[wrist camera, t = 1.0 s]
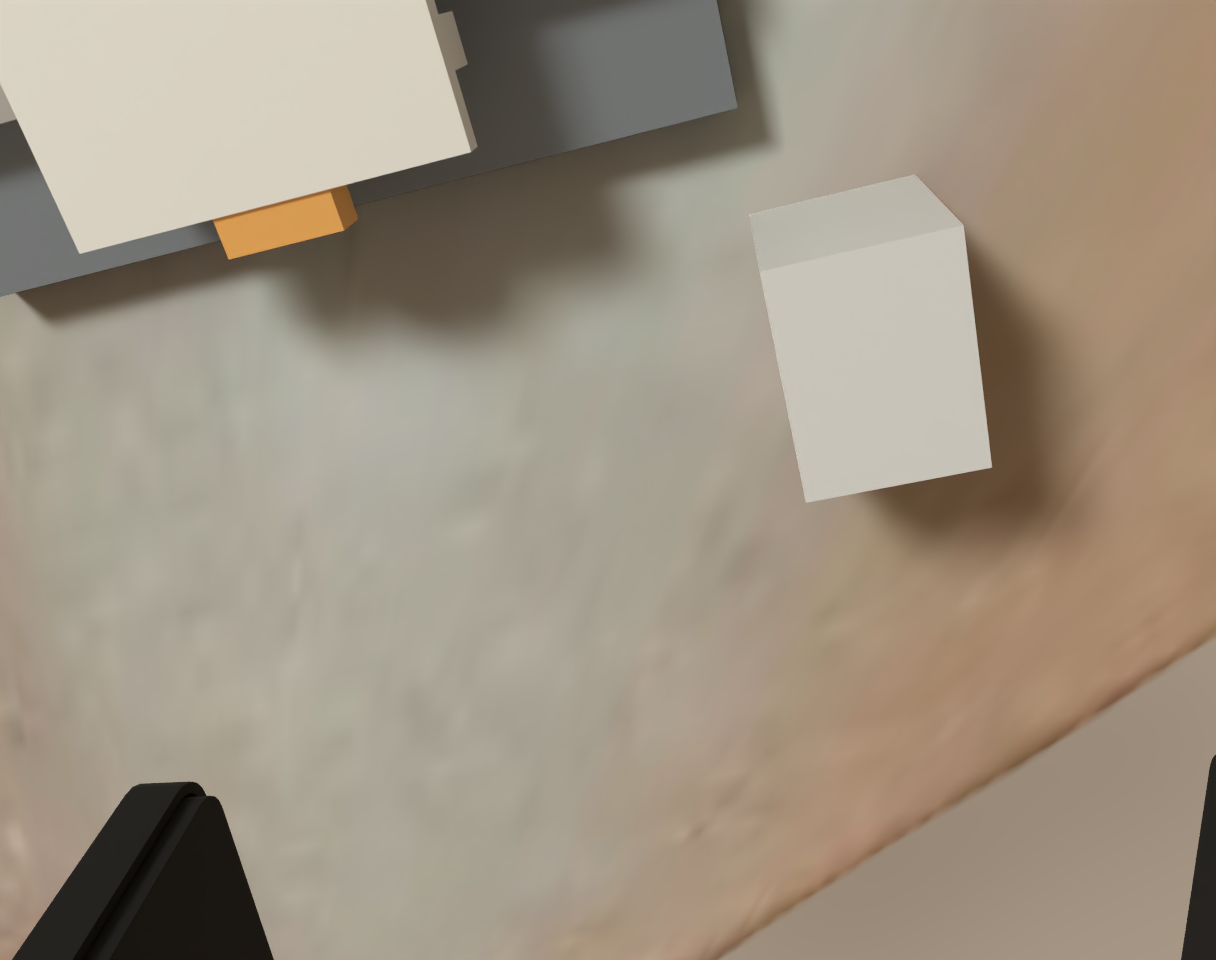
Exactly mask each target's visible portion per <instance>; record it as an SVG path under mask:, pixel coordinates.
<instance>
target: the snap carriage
mask: <svg viewBox="0 0 1216 960" xmlns="http://www.w3.org/2000/svg"><path fill="white" fill-rule="evenodd" d="M467 64H468V63H467V60H466V56H465V53H464V49H463V46H462V43H461V39H460V36H459V32H458V29H457V25H456V22H455V19H454V15H453V12H452V11H450V12H446V13H442V14H438V11H437V8H436V4H435V1H434V0H0V84H1V86H2V88H3V90H4V93H5V95H6V97H7V99H8V101H9V103H10V105H11V108H12V110H13V112H14V114H15V116H16V118H17V120H18V123H19V125H20V127H21V129H22V131H23V133H24V136H25V138H26V140H27V142H28V144H29V146H30V148H31V151H32V153H33V155H34V157H35V159H36V161H37V163H38V166H39V168H40V170H41V172H42V174H43V176H44V179H45V181H46V183H47V185H48V187H49V189H50V191H51V194H52V196H53V198H54V200H55V202H56V204H57V206H58V209H59V211H60V213H61V215H62V217H63V219H64V222H65V224H66V226H67V228H68V230H69V232H70V234H71V237H72V239H73V241H74V243H75V245H76V247H77V249H78V252H79V254H81V253H85V252H89V251H93V250H97V249H101V248H104V247H108V246H112V245H116V244H120V243H124V242H127V241H131V240H135V239H139V238H143V237H147V236H151V235H154V234H158V233H162V232H166V231H170V230H174V229H177V228H181V227H185V226H189V225H193V224H197V223H201V222H204V221H208V220H213V222H214V225H215V227H216V229H217V232H218V234H219V237H220V239H221V242H222V244H223V247H224V249H225V251H226V254H227V256H228V259H233V258H237V257H241V256H245V255H249V254H253V253H257V252H261V251H265V250H269V249H273V248H277V247H281V246H285V245H289V244H293V243H297V242H301V241H305V240H309V239H313V238H317V237H321V236H325V235H329V234H333V233H337V232H341V231H344V230H346V229H347V228H348V227H349V226H351V225H352V224H353V223H354V222H356V221H357V220H358V216H357V213H356V210H355V208H354V205H353V202H352V199H351V196H350V193H349V190H348V188H347V184H351V183H354V182H358V181H362V180H366V179H370V178H374V177H378V176H381V175H385V174H389V173H393V172H397V171H401V170H405V169H408V168H412V167H416V166H420V165H424V164H428V163H431V162H435V161H439V160H443V159H447V158H451V157H455V156H458V155H462V154H466V153H470V152H472V151H473V150H474V149H475V148H476V147H478V146H477V143H476V139H475V136H474V132H473V129H472V126H471V122H470V119H469V116H468V112H467V109H466V106H465V102H464V99H463V95H462V92H461V89H460V85H459V82H458V79H457V75H456V72H455V70H457V69H459V68H461V67H463V66H465V65H467Z"/></svg>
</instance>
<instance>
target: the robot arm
mask: <svg viewBox="0 0 1216 960" xmlns="http://www.w3.org/2000/svg"><path fill="white" fill-rule="evenodd" d="M12 960H274V959H273V956H272V953H271V950H270V947H269V944H268V941H267V938H266V935H265V932H264V929H263V926H262V924H261V921H260V918H259V915H258V912H257V909H256V906H255V903H254V900H253V897H252V894H251V891H250V888H249V885H248V882H247V879H246V876H245V873H244V870H243V867H242V864H241V861H240V858H239V855H238V852H237V849H236V846H235V844H234V841H233V838H232V835H231V832H230V829H229V826H228V823H227V820H226V817H225V814H224V811H223V808H222V806H221V804H220V801H219V800H218V799H217V798H216V797H214V796H206V794H205V792H204V790H203V788H202V787H201V786H200V785H199V784H198V783H195V782H173V783H149V784H139V785H136V786H134V787H132V788H131V789H130V791H129V792H128V793H127V794H126V795H125V796H124V798H123V799H122V801H121V802H120V804H119V805H118V807H117V808H116V809H115V811H114V812H113V814H112V815H111V817H110V818H109V820H108V821H107V823H106V824H105V825H104V827H103V828H102V830H101V831H100V833H99V834H98V836H97V837H96V839H95V840H94V841H93V843H92V844H91V846H90V847H89V849H88V850H87V852H86V853H85V855H84V856H83V857H82V859H81V860H80V862H79V863H78V865H77V866H76V868H75V869H74V870H73V872H72V873H71V875H70V876H69V878H68V879H67V881H66V882H65V884H64V885H63V886H62V888H61V889H60V891H59V892H58V894H57V895H56V897H55V898H54V900H53V901H52V902H51V904H50V905H49V907H48V908H47V910H46V911H45V913H44V914H43V916H42V917H41V918H40V920H39V921H38V923H37V924H36V926H35V927H34V929H33V930H32V932H31V933H30V934H29V936H28V937H27V939H26V940H25V942H24V943H23V945H22V946H21V948H20V949H19V950H18V952H17V953H16V955H15V956H14V958H13V959H12ZM1181 960H1216V755H1215V756H1214V757H1213V759H1212V762H1211V765H1210V770H1209V777H1208V783H1207V790H1206V797H1205V804H1204V810H1203V818H1202V824H1201V830H1200V837H1199V844H1198V850H1197V857H1196V864H1195V871H1194V877H1193V884H1192V891H1191V898H1190V904H1189V911H1188V918H1187V924H1186V931H1185V938H1184V944H1183V951H1182V958H1181Z"/></svg>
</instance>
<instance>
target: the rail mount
mask: <svg viewBox="0 0 1216 960" xmlns="http://www.w3.org/2000/svg"><path fill="white" fill-rule="evenodd" d="M434 1H435V4H436V8H437V11H438V14H442V13H446V12H450V11H452V12H453V15H454V19H455V22H456V25H457V29H458V32H459V36H460V39H461V43H462V46H463V49H464V53H465V56H466V60H467V63H468V64H467V65H465V66H463V67H461V68H459V69H457V70H455V72H456V75H457V79H458V82H459V85H460V89H461V92H462V95H463V99H464V102H465V106H466V109H467V112H468V116H469V119H470V122H471V126H472V129H473V132H474V136H475V139H476V143H477V146H478V147H476V148H475V149H474V150H473V151H472V152H470V153H466V154H462V155H458V156H455V157H451V158H447V159H443V160H439V161H435V162H431V163H428V164H424V165H420V166H416V167H412V168H408V169H405V170H401V171H397V172H393V173H389V174H385V175H381V176H378V177H374V178H370V179H366V180H362V181H358V182H354V183H351V184H347V188H348V190H349V193H350V196H351V199H352V202H353V205H354V206H357V205H361V204H365V203H368V202H372V201H376V200H380V199H384V198H388V197H392V196H396V195H400V194H404V193H408V192H411V191H415V190H419V189H423V188H427V187H431V186H435V185H439V184H443V183H447V182H451V181H454V180H458V179H462V178H466V177H470V176H474V175H478V174H482V173H486V172H490V171H494V170H497V169H501V168H505V167H509V166H513V165H517V164H521V163H525V162H529V161H533V160H537V159H540V158H544V157H548V156H552V155H556V154H560V153H564V152H568V151H572V150H576V149H580V148H583V147H587V146H591V145H595V144H599V143H603V142H607V141H611V140H615V139H619V138H623V137H626V136H630V135H634V134H638V133H642V132H646V131H650V130H654V129H658V128H662V127H666V126H669V125H673V124H677V123H681V122H685V121H689V120H693V119H697V118H701V117H705V116H709V115H713V114H716V113H720V112H724V111H728V110H732V109H736V108H738V107H737V102H736V97H735V91H734V86H733V81H732V76H731V71H730V66H729V61H728V56H727V51H726V46H725V40H724V35H723V30H722V25H721V20H720V15H719V10H718V5H717V0H434ZM220 240H221V239H220V237H219V234H218V232H217V229H216V227H215V225H214V222H213V220H208V221H204V222H201V223H197V224H193V225H189V226H185V227H181V228H177V229H174V230H170V231H166V232H162V233H158V234H154V235H151V236H147V237H143V238H139V239H135V240H131V241H127V242H124V243H120V244H116V245H112V246H108V247H104V248H101V249H97V250H93V251H89V252H85V253H81V254H79V252H78V249H77V247H76V245H75V243H74V241H73V239H72V237H71V234H70V232H69V230H68V228H67V226H66V224H65V222H64V219H63V217H62V215H61V213H60V211H59V209H58V206H57V204H56V202H55V200H54V198H53V196H52V194H51V191H50V189H49V187H48V185H47V183H46V181H45V179H44V176H43V174H42V172H41V170H40V168H39V166H38V163H37V161H36V159H35V157H34V155H33V153H32V151H31V148H30V146H29V144H28V142H27V140H26V138H25V136H24V133H23V131H22V129H21V127H20V125H19V123H18V120H17V118H16V116H15V114H14V112H13V110H12V108H11V105H10V103H9V101H8V99H7V97H6V95H5V93H4V90H3V88H2V86H1V84H0V297H1V296H5V295H9V294H13V293H17V292H20V291H24V290H28V289H32V288H36V287H40V286H44V285H48V284H52V283H56V282H60V281H63V280H67V279H71V278H75V277H79V276H83V275H87V274H91V273H95V272H99V271H103V270H106V269H110V268H114V267H118V266H122V265H126V264H130V263H134V262H138V261H142V260H146V259H149V258H153V257H157V256H161V255H165V254H169V253H173V252H177V251H181V250H185V249H189V248H192V247H196V246H200V245H204V244H208V243H212V242H216V241H220Z"/></svg>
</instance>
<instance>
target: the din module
mask: <svg viewBox="0 0 1216 960" xmlns="http://www.w3.org/2000/svg"><path fill="white" fill-rule="evenodd" d="M749 218H750V223H751V228H752V234H753V239H754V244H755V250H756V255H757V260H758V265H759V271H760V276H761V281H762V286H763V291H764V296H765V301H766V306H767V311H768V316H769V321H770V326H771V331H772V336H773V341H774V346H775V351H776V356H777V361H778V366H779V371H780V376H781V381H782V386H783V391H784V396H785V401H786V406H787V411H788V416H789V421H790V426H791V431H792V436H793V441H794V446H795V451H796V456H797V461H798V466H799V470H800V475H801V480H802V485H803V490H804V495H805V500H806V503H807V502H813V501H818V500H823V499H829V498H834V497H839V496H844V495H850V494H855V493H860V492H866V491H871V490H876V489H881V488H887V487H892V486H897V485H903V484H908V483H913V482H918V481H924V480H929V479H934V478H940V477H945V476H950V475H956V474H961V473H966V472H971V471H977V470H982V469H987V468H992V463H991V454H990V446H989V437H988V429H987V420H986V411H985V403H984V394H983V386H982V377H981V369H980V360H979V352H978V343H977V335H976V326H975V318H974V309H973V301H972V292H971V284H970V275H969V267H968V258H967V250H966V241H965V233H964V225H963V224H962V223H961V222H960V221H959V220H958V219H957V218H956V217H955V216H954V215H953V214H952V213H951V212H950V211H949V210H948V208H947V207H946V206H945V205H944V204H943V203H942V202H941V201H940V200H939V199H938V198H937V197H936V196H935V195H934V194H933V193H932V192H931V191H930V190H929V189H928V188H927V187H926V186H925V185H924V183H923V182H922V181H921V180H920V179H919V178H918V177H917V176H916V175H911V176H907V177H902V178H898V179H894V180H890V181H886V182H881V183H877V184H873V185H869V186H865V187H860V188H856V189H852V190H848V191H844V192H839V193H835V194H831V195H827V196H823V197H818V198H814V199H810V200H806V201H802V202H797V203H793V204H789V205H785V206H781V207H776V208H772V209H768V210H764V211H760V212H755V213H751V214H749Z"/></svg>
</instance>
